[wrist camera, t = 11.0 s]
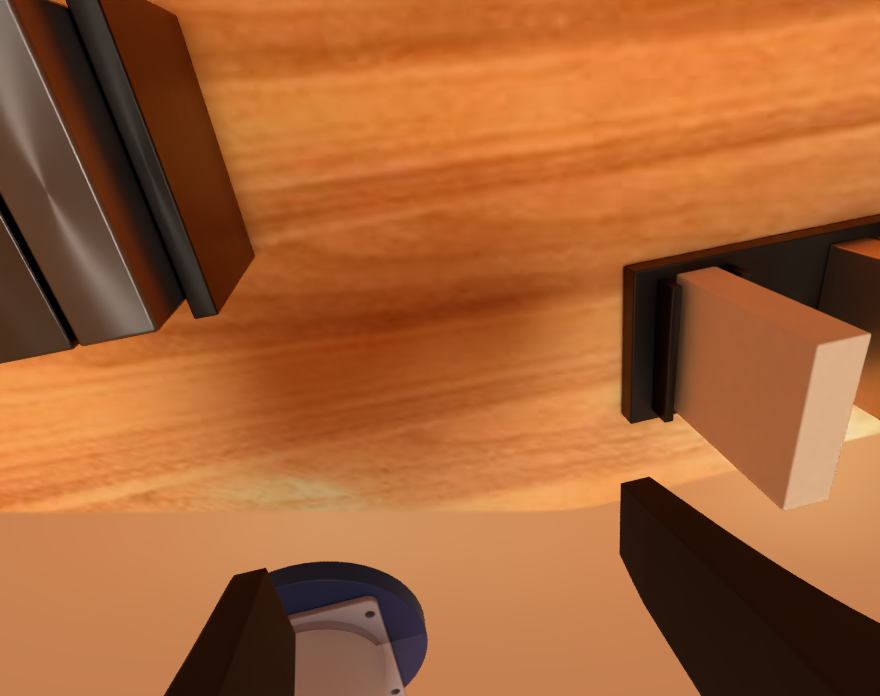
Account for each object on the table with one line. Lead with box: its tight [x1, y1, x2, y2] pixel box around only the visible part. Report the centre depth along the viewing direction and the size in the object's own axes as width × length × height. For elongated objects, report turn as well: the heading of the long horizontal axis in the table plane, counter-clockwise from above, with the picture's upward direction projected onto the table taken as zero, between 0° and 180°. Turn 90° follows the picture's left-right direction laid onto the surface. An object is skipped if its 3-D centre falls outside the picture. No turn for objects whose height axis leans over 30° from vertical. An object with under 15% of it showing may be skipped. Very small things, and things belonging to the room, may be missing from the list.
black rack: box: [622, 215, 880, 424], centre depth 18 cm, size 12×7×7 cm, turn 99°
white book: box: [674, 267, 871, 511], centre depth 18 cm, size 2×6×6 cm, turn 8°
